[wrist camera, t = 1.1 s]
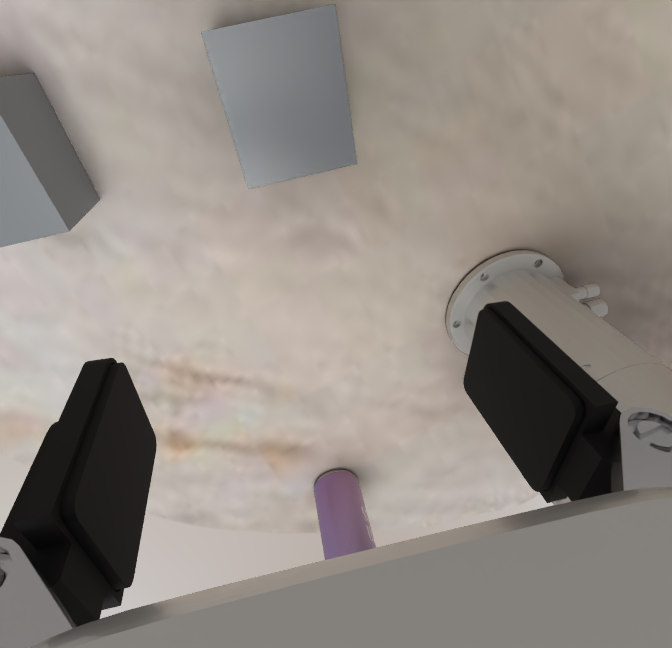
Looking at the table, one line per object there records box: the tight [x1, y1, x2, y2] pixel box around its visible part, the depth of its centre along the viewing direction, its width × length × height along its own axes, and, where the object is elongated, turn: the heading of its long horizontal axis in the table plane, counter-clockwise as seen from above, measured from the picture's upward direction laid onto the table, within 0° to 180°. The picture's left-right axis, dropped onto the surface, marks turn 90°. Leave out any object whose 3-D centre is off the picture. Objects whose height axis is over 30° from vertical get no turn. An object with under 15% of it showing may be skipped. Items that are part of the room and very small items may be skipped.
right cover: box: [201, 4, 357, 189], centre depth 25 cm, size 7×8×6 cm
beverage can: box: [314, 470, 376, 560], centre depth 48 cm, size 6×6×15 cm
